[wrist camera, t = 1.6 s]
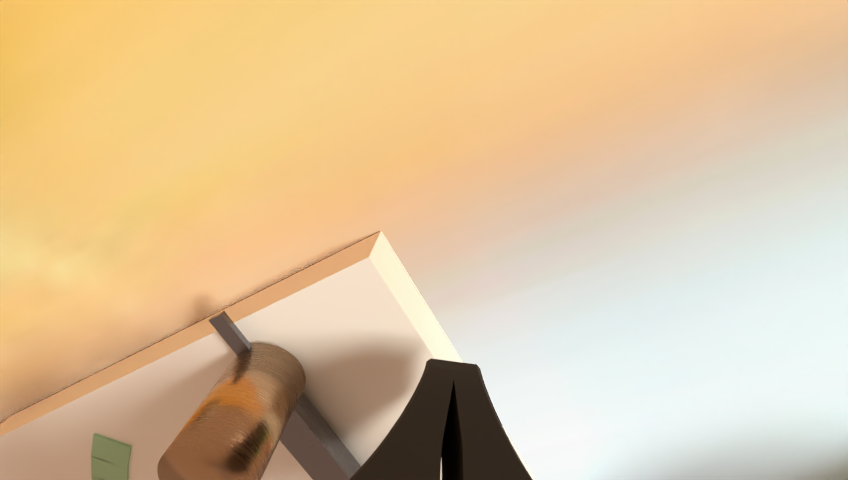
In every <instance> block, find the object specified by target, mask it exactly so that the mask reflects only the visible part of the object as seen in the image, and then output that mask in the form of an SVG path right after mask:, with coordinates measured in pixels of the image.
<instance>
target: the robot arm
mask: <svg viewBox="0 0 848 480" xmlns="http://www.w3.org/2000/svg"><path fill="white" fill-rule="evenodd" d="M441 457H442V480H533V479H532V478H531V476H530V475H529V473H528V471H527V470H526V468H525V467H524V465H523V463H522V462H521V460H520V458H519V456H518V455H517V453H516V451H515V449H514V447H513V446H512V444H511V442H510V440H509V438H508V436H507V434H506V432H505V430H504V428H503V426H502V424H501V422H500V420H499V418H498V416H497V413H496V411H495V409H494V407H493V404H492V402H491V400H490V397H489V395H488V392H487V389H486V387H485V384H484V381H483V378H482V374H481V371H480V368H479V367H478V366H477V365H476V364H468V363H461V362H454V361H447V360H440V359H432V358H431V359H429V360H428V361H426V366H425V369H424V372H423V375H422V377H421V379H420V381H419V383H418V386H417V388H416V390H415V392H414V393H413V395H412V397H411V399H410V400H409V402H408V404H407V405H406V407H405V409H404V411H403V412H402V414H401V415H400V417H399V418H398V420H397V421H396V423H395V424H394V426H393V427H392V428H391V430H390V431H389V433H388V434H387V436H386V437H385V438H384V440H383V441H382V442H381V444H380V445H379V446H378V447H377V449H376V450H375V451H374V452H373V453H372V455H371V456H370V457H369V458H368V460H367V461H366V462H365V463H364V464H363V465H362V466H361V467H360V468H359V470H358V471H357V472H356V473H355V474H354V475H353V476H352V477H351V478H350V479H349V480H440V470H441Z"/></svg>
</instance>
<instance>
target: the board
mask: <svg viewBox="0 0 848 480" xmlns="http://www.w3.org/2000/svg"><path fill="white" fill-rule="evenodd" d="M222 311H225V312H226V314H227V315H228V316H229V317H230V319H231V320H232V321H233V322H234V324H235V325H236V326H237V327H238V329H239V330H240V331H241V333H242V334H243V335H244V336H245V338H246V339H247V340H248V341H249V343H250V344H251V345H253V344H259V343H266V344H272V345H276V346H279V347H281V348H283V349H285V350H287V351H288V352H290V353H291V354H292V355H294V356H295V357H296V358H297V359H298V361H299V362H300V363H301V365H302V367H303V369H304V371H305V375H306V384H305V388H304V390H303V393H304V394H305V395H306V397H307V398H308V399H309V400H310V402H311V403H312V404H313V405H314V407H315V408H316V409H317V411H318V412H319V413H320V414H321V416H322V417H323V418H324V420H325V421H326V422H327V423H328V425H329V426H330V427H331V428H332V430H333V431H334V432H335V434H336V435H337V436H338V437H339V439H340V440H341V441H342V443H343V444H344V445H345V446H346V448H347V449H348V450H349V451H350V453H351V454H352V455H353V457H354V458H355V459H356V460H357V462H358V463H359V464H360V466H362V465H363V464H364V463H365V462H366V461H367V460H368V458H369V457H370V456H371V455H372V453H373V452H374V451H375V450H376V449H377V447H378V446H379V445H380V444H381V442H382V441H383V440H384V438H385V437H386V436H387V434H388V433H389V431H390V430H391V428H392V427H393V426H394V424H395V423H396V421H397V420H398V418H399V417H400V415H401V414H402V412H403V411H404V409H405V407H406V405H407V404H408V402H409V400H410V399H411V397H412V395H413V393H414V392H415V390H416V388H417V386H418V383H419V381H420V379H421V377H422V375H423V372H424V369H425V366H426V361H428V360H429V359H431V358H432V359H440V360H447V361H454V362H461V363H463V361H462V360H461V358H460V357H459V355H458V353H457V352H456V350H455V349H454V347H453V345H452V344H451V342H450V340H449V339H448V337H447V336H446V334H445V332H444V331H443V329H442V328H441V326H440V324H439V323H438V321H437V320H436V318H435V316H434V315H433V313H432V312H431V310H430V308H429V307H428V305H427V304H426V302H425V300H424V299H423V297H422V296H421V294H420V292H419V291H418V289H417V287H416V286H415V284H414V283H413V281H412V279H411V278H410V276H409V275H408V273H407V271H406V270H405V268H404V267H403V265H402V263H401V262H400V260H399V259H398V257H397V255H396V254H395V252H394V251H393V249H392V247H391V246H390V244H389V243H388V241H387V239H386V238H385V236H384V234H383V233H382V231H380V232H378V233H376V234H374V235H372V236H370V237H368V238H366V239H364V240H362V241H360V242H358V243H356V244H354V245H352V246H350V247H348V248H346V249H344V250H342V251H340V252H338V253H336V254H334V255H332V256H330V257H328V258H326V259H324V260H322V261H320V262H318V263H316V264H314V265H312V266H310V267H308V268H306V269H304V270H302V271H300V272H298V273H296V274H294V275H292V276H290V277H288V278H286V279H284V280H282V281H280V282H278V283H276V284H274V285H272V286H270V287H268V288H266V289H264V290H262V291H260V292H258V293H256V294H254V295H252V296H250V297H248V298H246V299H244V300H242V301H240V302H238V303H236V304H234V305H232V306H230V307H228V308H226V309H224V310H222ZM222 311H220V312H222ZM220 312H218V313H220ZM218 313H216V314H218ZM216 314H214V315H216ZM214 315H212V316H214ZM212 316H210V317H208V318H206V319H204V320H202V321H200V322H198V323H196V324H194V325H192V326H190V327H188V328H186V329H184V330H182V331H180V332H178V333H176V334H174V335H172V336H170V337H168V338H166V339H164V340H162V341H160V342H158V343H156V344H154V345H152V346H150V347H148V348H146V349H144V350H142V351H140V352H138V353H136V354H134V355H132V356H130V357H128V358H126V359H124V360H122V361H120V362H118V363H116V364H114V365H112V366H110V367H108V368H106V369H104V370H102V371H100V372H98V373H96V374H94V375H92V376H90V377H88V378H86V379H84V380H82V381H80V382H78V383H76V384H74V385H72V386H70V387H68V388H66V389H64V390H62V391H60V392H58V393H56V394H54V395H52V396H50V397H48V398H46V399H44V400H42V401H40V402H38V403H36V404H34V405H32V406H30V407H28V408H26V409H24V410H22V411H20V412H18V413H16V414H14V415H12V416H10V417H9V418H8V419H6V420H5V421H4V422H3V423H2V424H0V480H159V478H158V473H157V467H158V463H159V460H160V458H161V457H162V455H163V454H164V453H165V451H166V450H167V449H168V447H169V446H170V445H171V443H172V442H173V441H174V439H175V438H176V436H177V435H178V434H179V432H180V431H181V430H182V428H183V427H184V426H185V424H186V423H187V422H188V420H189V419H190V418H191V416H192V415H193V413H194V412H195V411H196V409H197V408H198V407H199V405H200V404H201V403H202V401H203V400H204V399H205V397H206V396H207V395H208V393H209V392H210V390H211V389H212V388H213V386H214V385H215V384H216V382H217V381H218V380H219V378H220V377H221V376H222V374H223V373H224V372H225V370H226V369H227V367H228V366H229V365H230V363H231V362H232V361H233V359H234V358H235V357H236V354H235V353H234V351H233V350H232V349H231V348H230V346H229V345H228V344H227V343H226V341H225V340H224V339H223V338H222V337H221V335H220V334H219V333H218V332H217V330H216V329H215V328H214V327H213V326H212V324H211V323H210V322H209V321H208V320H209V319H210V318H211V317H212ZM503 428H504V427H503ZM504 430H505V429H504ZM505 432H506V430H505ZM506 434H507V432H506ZM507 436H508V438H509V440H510V442H511V444H512V446H513V447H514V449H515V451H516V453H517V455H518V456H519V458H520V460H521V462H522V463H523V465H524V467H525V468H526V470H527V471H528V473H529V475H530V476H531V478H532V479H533V480H536V479H535V477H534V475H533V474H532V472H531V471H530V469H529V467H528V466H527V464H526V463H525V461H524V459H523V458H522V456H521V454H520V453H519V451H518V450H517V448H516V446H515V445H514V443H513V442H512V440H511V438H510V437H509V435H508V434H507ZM261 480H313V479H312V478H311V477H310V476H309V475H308V473H307V472H306V471H305V470H304V469H303V467H302V466H301V465H300V464H299V463H298V461H297V460H296V459H295V458H294V457H293V455H292V454H291V453H290V452H289V451H288V450H287V448H286V447H285V446H284V445H283V444H282V442H281V441H280V440H279V442H278V444H277V447H276V449H275V451H274V453H273V455H272V457H271V459H270V461H269V463H268V465H267V468H266V470H265V472H264V474H263V476H262V478H261ZM440 480H442V457H441V470H440Z"/></svg>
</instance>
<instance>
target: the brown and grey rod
mask: <svg viewBox="0 0 848 480" xmlns="http://www.w3.org/2000/svg"><path fill="white" fill-rule="evenodd" d="M208 321H209V322H210V323H211V324H212V326H213V327H214V328H215V329H216V330H217V332H218V333H219V334H220V335H221V337H222V338H223V339H224V340H225V341H226V343H227V344H228V345H229V346H230V348H231V349H232V350H233V351H234V353H235V354H236V357H235V358H234V359H233V361H232V362H231V363H230V365H229V366H228V367H227V369H226V370H225V372H224V373H223V374H222V376H221V377H220V378H219V380H218V381H217V382H216V384H215V385H214V386H213V388H212V389H211V390H210V392H209V393H208V395H207V396H206V397H205V399H204V400H203V401H202V403H201V404H200V405H199V407H198V408H197V409H196V411H195V412H194V413H193V415H192V416H191V418H190V419H189V420H188V422H187V423H186V424H185V426H184V427H183V428H182V430H181V431H180V432H179V434H178V435H177V436H176V438H175V439H174V441H173V442H172V443H171V445H170V446H169V447H168V449H167V450H166V451H165V453H164V454H163V455H162V457H161V458H160V460H159V463H158V467H157V473H158V478H159V480H261V478H262V476H263V474H264V472H265V470H266V468H267V465H268V463H269V461H270V459H271V457H272V455H273V453H274V451H275V449H276V447H277V444H278V442H279V440H280V441H281V442H282V444H283V445H284V446H285V447H286V448H287V450H288V451H289V452H290V453H291V454H292V455H293V457H294V458H295V459H296V460H297V461H298V463H299V464H300V465H301V466H302V467H303V469H304V470H305V471H306V472H307V473H308V475H309V476H310V477H311V478H312V479H313V480H349V479H350V478H351V477H352V476H353V475H354V474H355V473H356V472H357V471H358V470H359V468H360V467H361V466H360V464H359V463H358V462H357V460H356V459H355V458H354V457H353V455H352V454H351V453H350V451H349V450H348V449H347V448H346V446H345V445H344V444H343V443H342V441H341V440H340V439H339V437H338V436H337V435H336V434H335V432H334V431H333V430H332V428H331V427H330V426H329V425H328V423H327V422H326V421H325V420H324V418H323V417H322V416H321V414H320V413H319V412H318V411H317V409H316V408H315V407H314V405H313V404H312V403H311V402H310V400H309V399H308V398H307V397H306V395H305V394H304V393H303V390H304V388H305V384H306V375H305V371H304V369H303V367H302V365H301V363H300V362H299V361H298V359H297V358H296V357H295V356H294V355H292V354H291V353H290V352H288V351H287V350H285V349H283V348H281V347H279V346H276V345H272V344H266V343H259V344H253V345H251V344H250V343H249V341H248V340H247V339H246V338H245V336H244V335H243V334H242V333H241V331H240V330H239V329H238V327H237V326H236V325H235V324H234V322H233V321H232V320H231V319H230V317H229V316H228V315H227V314H226V312H225V311H222V312H220V313H218V314H216V315H214V316H212V317H211V318H210V319H209V320H208Z"/></svg>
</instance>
